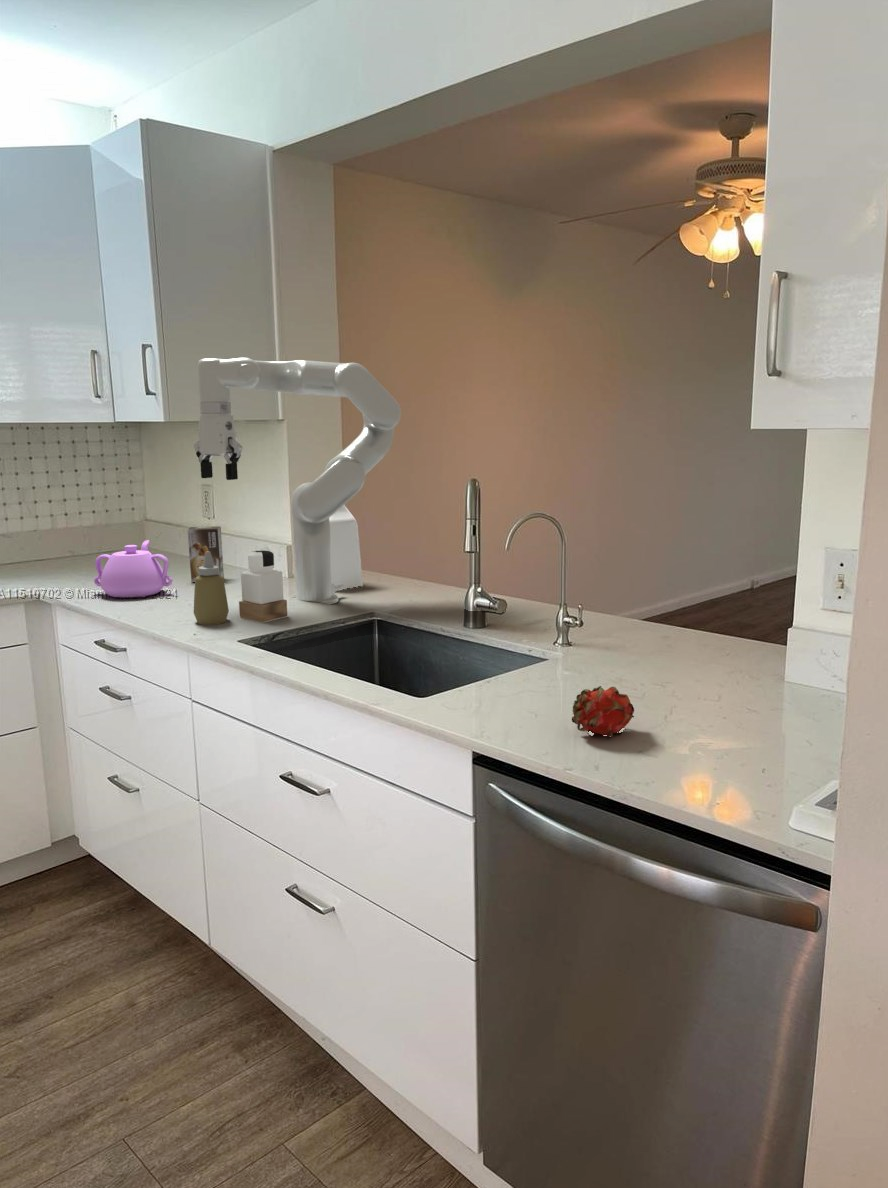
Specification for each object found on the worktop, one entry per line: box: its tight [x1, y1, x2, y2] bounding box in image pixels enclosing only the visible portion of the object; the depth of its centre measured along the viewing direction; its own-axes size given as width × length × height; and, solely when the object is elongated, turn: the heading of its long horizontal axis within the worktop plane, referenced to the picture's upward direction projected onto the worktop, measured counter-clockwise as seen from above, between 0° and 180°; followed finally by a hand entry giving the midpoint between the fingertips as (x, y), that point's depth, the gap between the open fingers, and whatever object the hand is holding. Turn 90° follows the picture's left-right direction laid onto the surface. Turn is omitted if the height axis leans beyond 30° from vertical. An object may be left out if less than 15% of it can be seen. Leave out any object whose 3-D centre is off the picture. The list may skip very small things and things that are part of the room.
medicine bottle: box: [240, 550, 284, 605], centre depth 218 cm, size 7×7×12 cm
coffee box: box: [187, 525, 225, 583], centre depth 272 cm, size 9×6×16 cm
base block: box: [238, 598, 288, 623], centre depth 220 cm, size 8×8×4 cm
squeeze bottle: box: [193, 551, 229, 626], centre depth 214 cm, size 8×8×18 cm
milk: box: [329, 504, 364, 590], centre depth 261 cm, size 12×12×26 cm
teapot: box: [93, 539, 174, 598], centre depth 255 cm, size 22×22×14 cm
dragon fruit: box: [571, 685, 635, 737], centre depth 144 cm, size 8×8×12 cm
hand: (219, 478), depth 230 cm, fingers open, 9 cm apart
